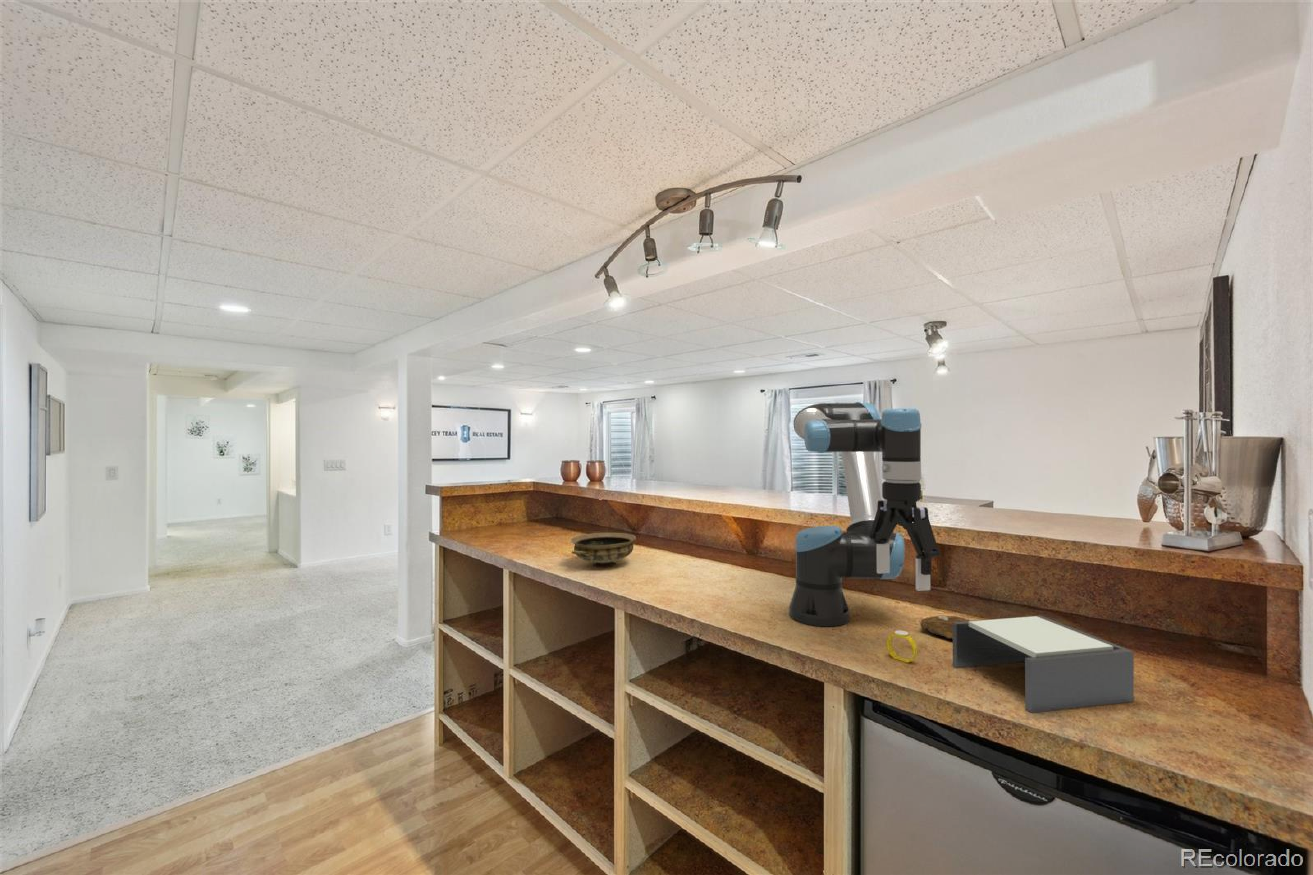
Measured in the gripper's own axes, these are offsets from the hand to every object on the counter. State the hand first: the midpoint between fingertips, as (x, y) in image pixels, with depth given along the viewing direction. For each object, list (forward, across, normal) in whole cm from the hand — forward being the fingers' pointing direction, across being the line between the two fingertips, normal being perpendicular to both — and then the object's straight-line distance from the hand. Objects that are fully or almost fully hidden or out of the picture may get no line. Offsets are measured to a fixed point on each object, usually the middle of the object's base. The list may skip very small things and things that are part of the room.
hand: (901, 581), depth 114 cm
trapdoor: (+8, +14, +19) cm, 25 cm away
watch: (+17, 0, 0) cm, 17 cm away
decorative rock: (+17, -10, +21) cm, 29 cm away
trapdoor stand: (+17, +14, +19) cm, 29 cm away
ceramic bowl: (+16, -95, -57) cm, 112 cm away
